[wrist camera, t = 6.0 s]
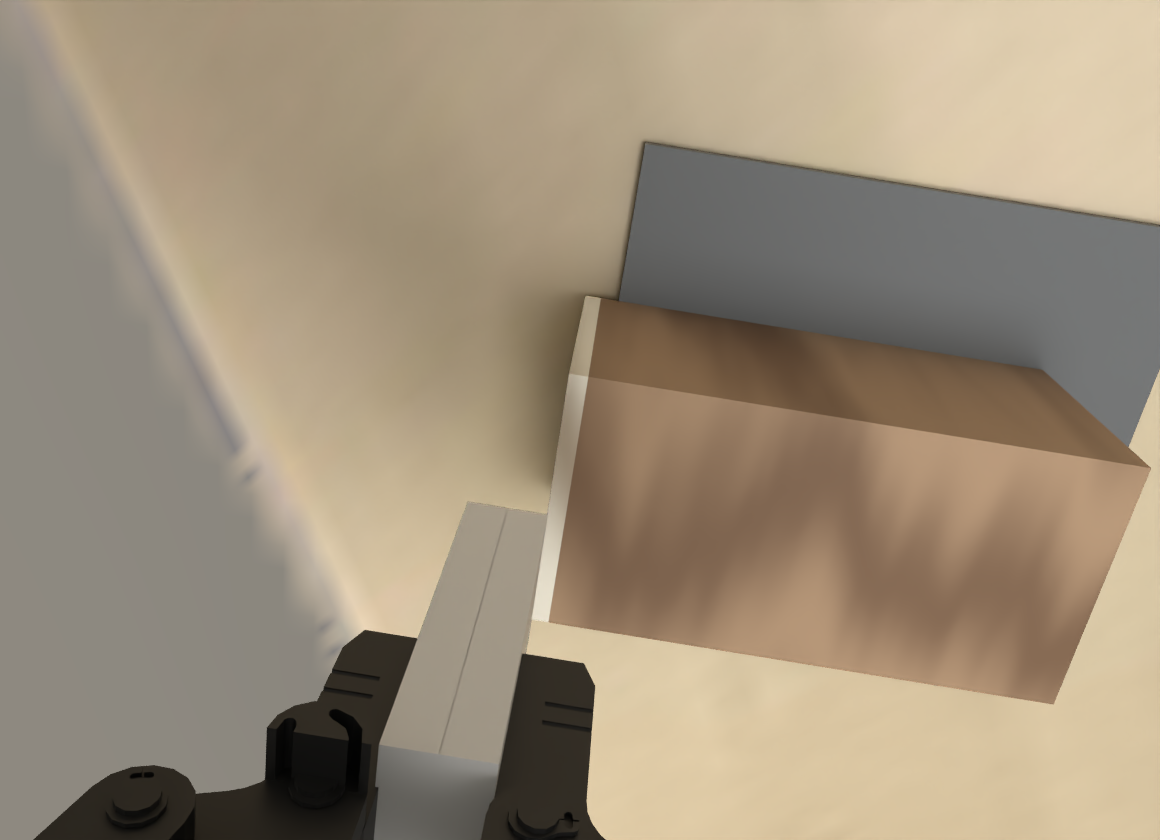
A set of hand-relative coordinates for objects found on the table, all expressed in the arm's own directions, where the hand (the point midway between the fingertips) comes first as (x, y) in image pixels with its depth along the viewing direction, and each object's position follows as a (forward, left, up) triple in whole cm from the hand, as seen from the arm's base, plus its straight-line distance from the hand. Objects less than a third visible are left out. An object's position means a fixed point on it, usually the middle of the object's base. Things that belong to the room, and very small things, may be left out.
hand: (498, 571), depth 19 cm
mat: (0, +8, -9) cm, 13 cm away
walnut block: (0, +1, -6) cm, 6 cm away
